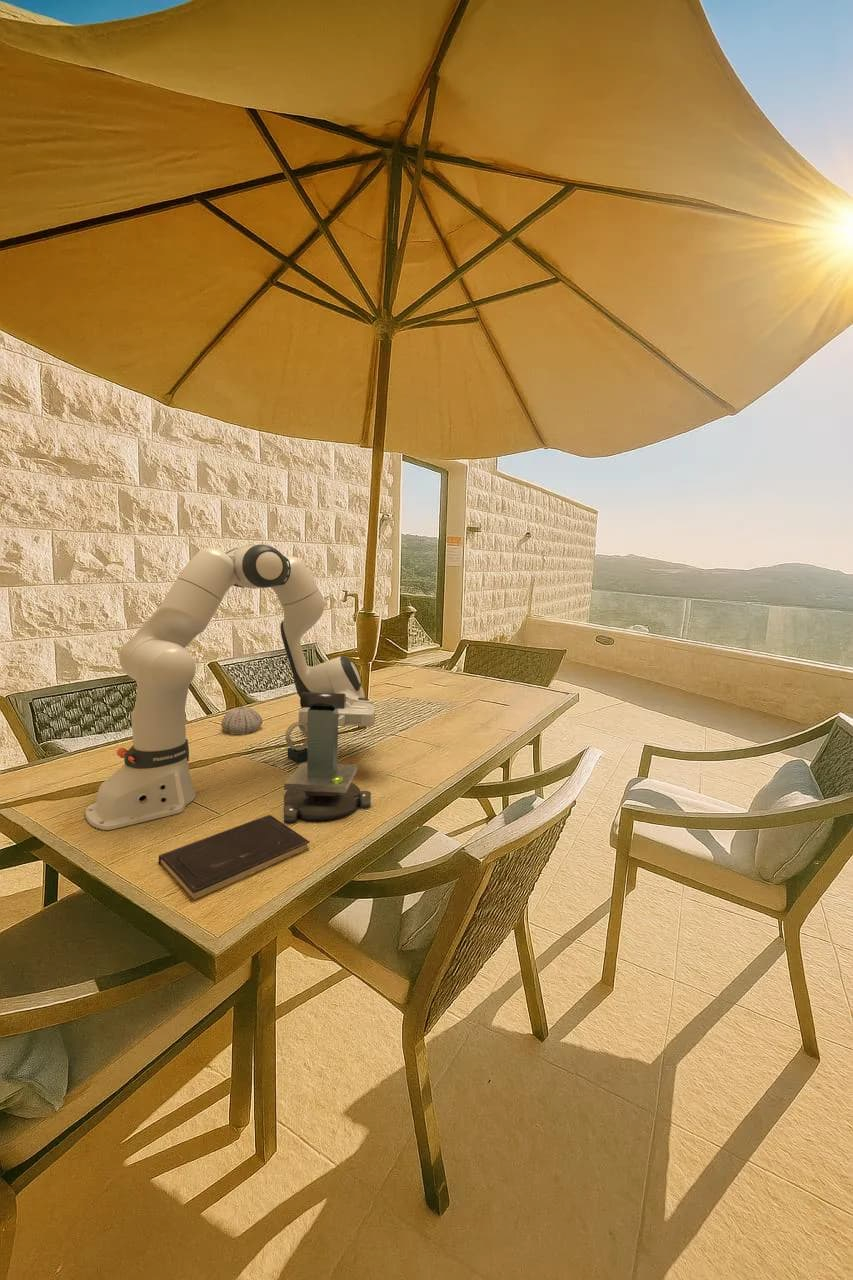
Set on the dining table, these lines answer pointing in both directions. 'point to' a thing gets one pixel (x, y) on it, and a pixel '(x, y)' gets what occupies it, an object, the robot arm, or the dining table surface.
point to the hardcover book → (231, 855)
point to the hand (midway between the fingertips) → (331, 724)
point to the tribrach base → (323, 804)
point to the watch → (300, 751)
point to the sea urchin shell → (241, 720)
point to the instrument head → (322, 747)
